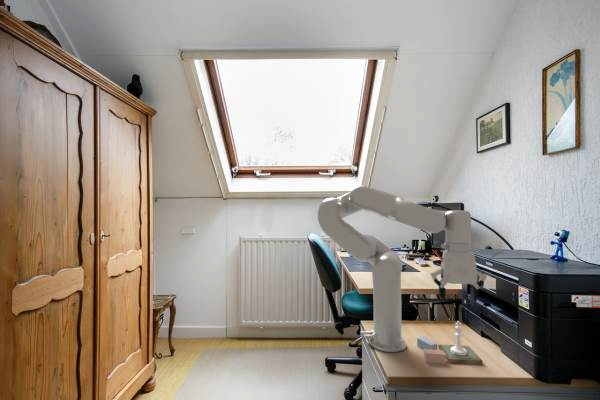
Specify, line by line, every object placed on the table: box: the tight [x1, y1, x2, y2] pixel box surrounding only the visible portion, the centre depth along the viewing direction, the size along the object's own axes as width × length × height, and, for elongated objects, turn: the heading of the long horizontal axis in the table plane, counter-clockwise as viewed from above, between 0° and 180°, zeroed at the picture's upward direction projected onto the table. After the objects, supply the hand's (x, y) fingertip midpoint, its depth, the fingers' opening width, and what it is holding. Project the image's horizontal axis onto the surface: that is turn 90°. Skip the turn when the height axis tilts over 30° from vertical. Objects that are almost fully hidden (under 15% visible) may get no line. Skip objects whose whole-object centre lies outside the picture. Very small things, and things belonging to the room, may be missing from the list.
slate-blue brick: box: [416, 336, 438, 350], centre depth 107 cm, size 6×3×3 cm, turn 23°
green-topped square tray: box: [437, 344, 483, 365], centre depth 102 cm, size 10×10×1 cm
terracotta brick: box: [422, 349, 447, 364], centre depth 99 cm, size 6×3×3 cm, turn 80°
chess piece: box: [450, 320, 467, 355], centre depth 102 cm, size 5×5×10 cm
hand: (458, 299), depth 103 cm, fingers open, 9 cm apart
